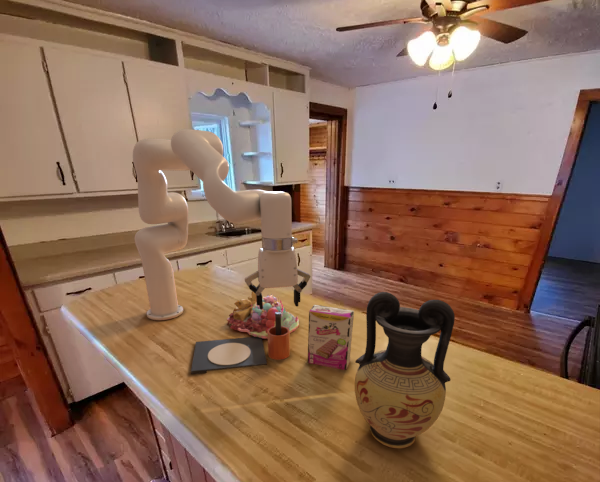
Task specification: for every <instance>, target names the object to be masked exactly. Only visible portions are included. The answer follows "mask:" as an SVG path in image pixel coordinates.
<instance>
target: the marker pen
mask: <svg viewBox="0 0 600 482" xmlns="http://www.w3.org/2000/svg"><path fill="white" fill-rule="evenodd" d="M275 326H276V335H277V336H279V335H281V312H275Z"/></svg>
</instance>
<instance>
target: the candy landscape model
mask: <svg viewBox="0 0 600 482" xmlns="http://www.w3.org/2000/svg"><path fill="white" fill-rule="evenodd" d="M262 302H263V309H260V307H259V305H257V300H256V294H255V293H254V292H253V291H251V297H250V296H248V297H247V299H245V298H244V299H242V298H241V299H238V300H237V301H235V302H234V305H235V307H234V309H233V311H232V312H231V313H229V315H228V317H227V319H226V321H227V323H226V326H228V325H230V327H229V329H231V330H234V331H239V332H240V333H241V332H242V333H247V334H248V335H249V336H251V337H260V338H262V339H267V340H268V338H267V331H268V329H269V328H271V327H275V312H281V326H283V327H286V328H288V329H289V331H290V334H291V333H293V332H295V331H296V330H297V329H298V328H299V317H298V316H294V314H293V313H291V311H290V312H289V311H288V310H287V309H286V308H285V307H284V305H283V303H282V300H281V299H280V296H277V297H275V295H273V293H271V294H270V295H266V296H262Z"/></svg>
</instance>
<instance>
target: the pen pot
mask: <svg viewBox="0 0 600 482" xmlns="http://www.w3.org/2000/svg"><path fill="white" fill-rule="evenodd" d="M267 338H268V339H267V355H268V357H269V358H270V359H272V360H276V361H281V360H285V359H288V357H290V355H291V333H290V331H289V329H288V328H286V327H283V326H281V335H279V336H277V335H276V326H275V327H271V328H269V329H268V331H267Z"/></svg>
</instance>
